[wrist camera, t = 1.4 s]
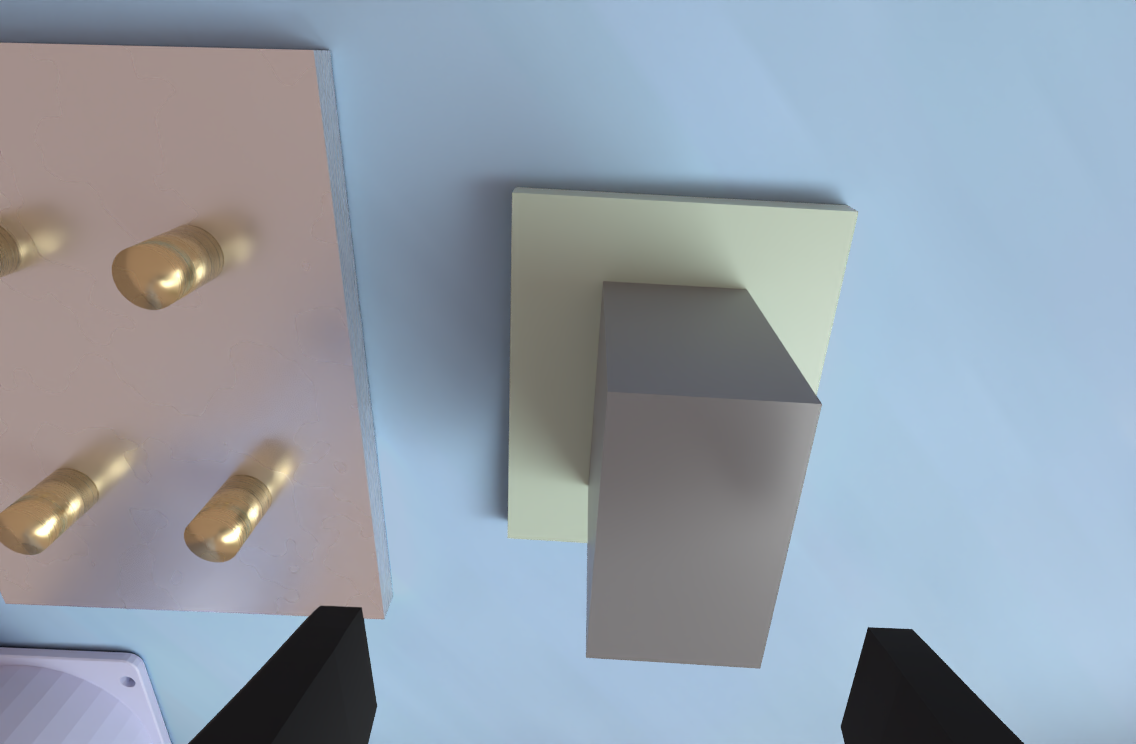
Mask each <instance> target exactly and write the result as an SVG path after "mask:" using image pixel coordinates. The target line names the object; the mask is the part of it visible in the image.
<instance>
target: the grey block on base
mask: <svg viewBox="0 0 1136 744" xmlns="http://www.w3.org/2000/svg"><path fill="white" fill-rule="evenodd" d="M857 216H858V211H856V210H855V209H853V208H851V207H850V206H848V205H835V204H817V203H799V202H781V201H763V200H745V199H726V198H708V197H690V196H672V195H654V194H635V193H617V192H599V191H581V190H563V189H544V188H526V187H515V189H514V190H513V192H512V241H511V319H510V398H509V476H508V538H514V539H530V540H547V541H563V542H580V543H587V620H586V658H601V659H617V660H633V661H649V662H665V663H681V664H697V665H713V666H729V667H745V668H760V667H761V663H762V658H763V654H764V650H765V646H766V641H767V637H768V633H769V628H770V624H771V620H772V616H773V611H774V607H775V603H776V598H777V594H778V590H779V586H780V581H781V577H782V573H783V569H784V564H785V560H786V556H787V551H788V547H789V543H790V539H791V534H792V530H793V526H794V521H795V517H796V513H797V509H798V504H799V500H800V496H801V492H802V487H803V483H804V479H805V474H806V470H807V466H808V462H809V457H810V453H811V449H812V444H813V440H814V436H815V432H816V427H817V423H818V419H819V415H820V410H821V406H822V404H821V402H820V400H819V399H818V397H817V396H816V395H817V391H818V387H819V382H820V378H821V373H822V369H823V365H824V360H825V356H826V352H827V347H828V343H829V338H830V334H831V330H832V325H833V321H834V317H835V312H836V308H837V303H838V299H839V295H840V290H841V286H842V282H843V277H844V273H845V268H846V264H847V260H848V255H849V251H850V247H851V242H852V238H853V233H854V229H855V225H856V220H857Z"/></svg>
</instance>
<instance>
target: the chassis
mask: <svg viewBox="0 0 1136 744" xmlns="http://www.w3.org/2000/svg"><path fill="white" fill-rule="evenodd" d="M0 592H1V594H2V596H3V598H4V601H5V603H6V604H29V605H53V606H77V607H101V608H125V609H149V610H173V611H197V612H221V613H245V614H269V615H293V616H310V615H311V614H312V612H313V611H315V610H316V609H317V608H318V607H319V606H344V607H362V611H363V618H366V619H385V616H386V614H387V611H388V608H389V606H390V603H391V600H392V597H393V592H392V583H391V574H390V566H389V557H388V548H387V540H386V531H385V522H384V514H383V505H382V496H381V488H380V479H379V470H378V462H377V453H376V444H375V436H374V427H373V418H372V409H371V401H370V392H369V383H368V375H367V366H366V357H365V349H364V340H363V331H362V323H361V314H360V305H359V297H358V288H357V279H356V271H355V262H354V253H353V245H352V236H351V227H350V219H349V210H348V201H347V193H346V184H345V175H344V167H343V158H342V149H341V141H340V132H339V123H338V115H337V106H336V97H335V89H334V80H333V71H332V63H331V54H330V50H294V49H252V48H210V47H168V46H126V45H84V44H42V43H0Z"/></svg>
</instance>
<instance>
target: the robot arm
mask: <svg viewBox="0 0 1136 744" xmlns="http://www.w3.org/2000/svg"><path fill="white" fill-rule="evenodd" d="M376 708H377V703H376V696H375V690H374V683H373V677H372V670H371V664H370V657H369V650H368V644H367V637H366V631H365V624H364V618H363V611H362V607H344V606H319V607H318V608H317V609H316V610H315V611H313V612H312V614H311V615H310V616H309V617H308V618H307V619H306V620H305V621H304V622H303V623H302V624H301V625H300V627H299V628H298V629H297V630H296V631H295V632H294V633H293V634H292V635H291V636H290V637H289V639H288V640H287V641H286V642H285V643H284V644H283V645H282V646H281V647H280V648H279V649H278V651H277V652H276V653H275V654H274V655H273V656H272V657H271V658H270V659H269V660H268V661H267V662H266V664H265V665H264V666H263V667H262V668H261V669H260V670H259V671H258V672H257V673H256V674H255V675H254V676H253V677H252V678H251V680H250V681H249V682H248V683H247V684H246V685H245V686H244V687H243V688H242V689H241V690H240V691H239V692H238V693H237V694H236V695H235V696H234V697H233V698H232V699H231V700H230V701H229V703H228V704H227V705H226V706H225V707H224V708H223V709H222V710H221V711H220V712H219V713H218V714H217V715H216V716H215V717H214V718H213V719H212V720H211V721H210V722H209V723H208V724H207V725H206V726H205V727H204V728H203V729H202V730H201V731H200V732H199V733H198V734H197V735H196V736H195V737H194V738H193V739H192V740H191V741H190V742H189V743H188V744H368V742H369V738H370V733H371V729H372V725H373V721H374V717H375V713H376ZM841 730H842V734H843V738H844V742H845V744H1024V743H1023V742H1022V741H1021V740H1020V739H1019V738H1018V737H1017V736H1016V735H1015V734H1014V733H1013V732H1012V731H1011V730H1010V729H1009V728H1008V727H1007V726H1006V725H1005V724H1004V723H1003V722H1002V721H1001V720H1000V719H999V718H998V717H997V716H996V715H995V714H994V713H993V712H992V711H991V710H990V709H989V708H988V707H987V706H986V705H985V704H984V702H983V701H982V700H981V699H980V698H979V697H978V696H977V695H976V694H975V693H974V692H973V691H972V690H971V689H970V688H969V687H968V686H967V685H966V684H965V683H964V682H963V681H962V680H961V679H960V678H959V677H958V676H957V675H956V674H955V673H954V672H953V671H952V669H951V668H950V667H949V666H948V665H947V664H946V663H945V662H944V661H943V660H942V659H941V658H940V657H939V656H938V655H937V654H936V653H935V652H934V651H933V650H932V649H931V648H930V647H929V646H928V645H927V644H926V643H925V642H924V641H923V640H922V639H921V638H920V637H919V636H918V635H917V634H916V633H915V632H914V631H913V630H912V629H895V628H870V627H868V629H867V633H866V637H865V640H864V644H863V648H862V651H861V655H860V659H859V662H858V666H857V669H856V673H855V677H854V680H853V684H852V688H851V691H850V695H849V699H848V702H847V706H846V709H845V713H844V717H843V720H842V724H841ZM0 744H171V741H170V738H169V735H168V732H167V729H166V726H165V723H164V720H163V717H162V714H161V711H160V708H159V706H158V703H157V700H156V697H155V694H154V691H153V688H152V685H151V682H150V679H149V676H148V673H147V670H146V667H145V664H144V662H143V660H142V659H141V658H140V657H139V656H137V655H135V654H132V653H123V652H100V651H76V650H53V649H30V648H7V647H0Z"/></svg>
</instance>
